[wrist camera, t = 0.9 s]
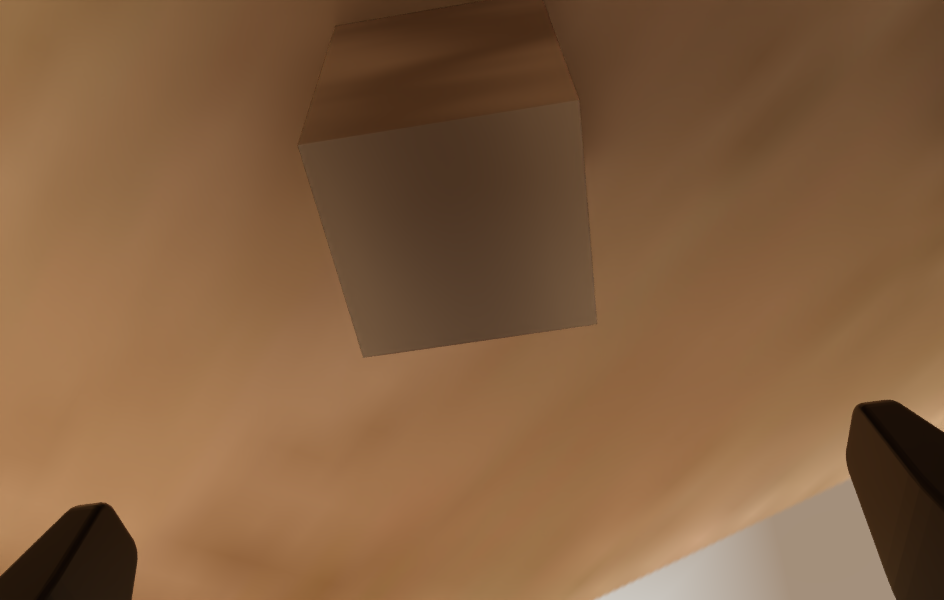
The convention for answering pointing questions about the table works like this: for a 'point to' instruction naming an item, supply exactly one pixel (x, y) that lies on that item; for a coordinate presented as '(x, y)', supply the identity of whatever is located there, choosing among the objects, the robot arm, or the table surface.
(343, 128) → the brown block
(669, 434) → the table surface
